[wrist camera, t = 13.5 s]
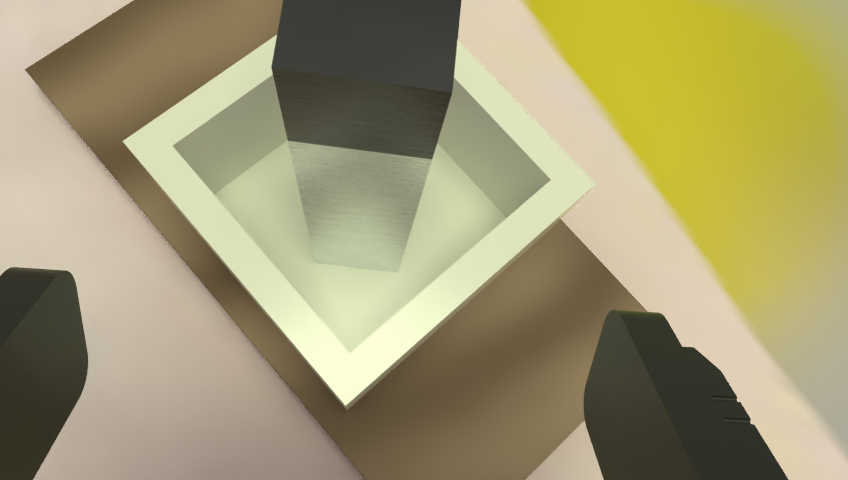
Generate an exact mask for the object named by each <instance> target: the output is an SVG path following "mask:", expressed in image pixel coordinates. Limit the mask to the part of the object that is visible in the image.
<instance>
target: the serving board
mask: <svg viewBox="0 0 848 480" xmlns="http://www.w3.org/2000/svg"><path fill="white" fill-rule="evenodd" d="M282 4H283V0H134V1H132V2H131V3H129V4H127V5H126V6H124V7H123V8H121V9H119V10H118V11H116V12H115V13H113V14H112V15H110V16H108V17H107V18H105V19H104V20H102V21H101V22H99V23H97V24H96V25H94V26H93V27H91V28H90V29H88V30H86V31H85V32H83V33H82V34H80V35H79V36H77V37H75V38H74V39H72V40H71V41H69V42H67V43H66V44H64V45H63V46H61V47H60V48H58V49H56V50H55V51H53V52H52V53H50V54H49V55H47V56H45V57H44V58H42V59H41V60H39V61H38V62H36V63H34V64H33V65H31V66H30V67H28V68H27V69H25V70H26V72H27V73H28V74H29V75H30V76H31V78H32V79H33V80H34V81H35V82H36V84H37V85H38V86H39V87H40V88H41V90H42V91H43V92H44V93H45V94H46V96H47V97H48V98H49V99H50V100H51V102H52V103H53V104H54V105H55V106H56V108H57V109H58V110H59V111H60V112H61V114H62V115H63V116H64V117H65V118H66V120H67V121H68V122H69V123H70V124H71V126H72V127H73V128H74V129H75V130H76V132H77V133H78V134H79V135H80V136H81V138H82V139H83V140H84V141H85V142H86V144H87V145H88V146H89V147H90V148H91V150H92V151H93V152H94V153H95V154H96V156H97V157H98V158H99V159H100V160H101V162H102V163H103V164H104V165H105V166H106V168H107V169H108V170H109V171H110V172H111V174H112V175H113V176H114V177H115V178H116V180H117V181H118V182H119V183H120V184H121V186H122V187H123V188H124V189H125V190H126V192H127V193H128V194H129V195H130V196H131V198H132V199H133V200H134V201H135V202H136V204H137V205H138V206H139V207H140V208H141V210H142V211H143V212H144V213H145V214H146V216H147V217H148V218H149V219H150V220H151V222H152V223H153V224H154V225H155V226H156V228H157V229H158V230H159V231H160V232H161V234H162V235H163V236H164V237H165V238H166V240H167V241H168V242H169V243H170V244H171V246H172V247H173V248H174V249H175V250H176V252H177V253H178V254H179V255H180V256H181V258H182V259H183V260H184V261H185V262H186V264H187V265H188V266H189V267H190V268H191V270H192V271H193V272H194V273H195V274H196V276H197V277H198V278H199V279H200V280H201V282H202V283H203V284H204V285H205V286H206V288H207V289H208V290H209V291H210V292H211V294H212V295H213V296H214V297H215V298H216V300H217V301H218V302H219V303H220V304H221V306H222V307H223V308H224V309H225V310H226V312H227V313H228V314H229V315H230V316H231V318H232V319H233V320H234V321H235V322H236V324H237V325H238V326H239V327H240V329H241V330H242V331H243V332H244V333H245V335H246V336H247V337H248V338H249V339H250V341H251V342H252V343H253V344H254V345H255V347H256V348H257V349H258V350H259V351H260V353H261V354H262V355H263V356H264V357H265V359H266V360H267V361H268V362H269V363H270V365H271V366H272V367H273V368H274V369H275V371H276V372H277V373H278V374H279V375H280V377H281V378H282V379H283V380H284V381H285V383H286V384H287V385H288V386H289V387H290V389H291V390H292V391H293V392H294V393H295V395H296V396H297V397H298V398H299V399H300V401H301V402H302V403H303V404H304V405H305V407H306V408H307V409H308V410H309V411H310V413H311V414H312V415H313V416H314V417H315V419H316V420H317V421H318V422H319V423H320V425H321V426H322V427H323V428H324V429H325V431H326V432H327V433H328V434H329V435H330V437H331V438H332V439H333V440H334V441H335V443H336V444H337V445H338V446H339V447H340V449H341V450H342V451H343V452H344V453H345V455H346V456H347V457H348V458H349V459H350V461H351V462H352V463H353V464H354V465H355V467H356V468H357V469H358V470H359V471H360V473H361V474H362V475H363V476H364V477H365V479H366V480H525V479H526V478H527V477H528V476H529V475H530V474H531V473H532V472H533V471H534V470H535V469H536V468H537V467H538V466H539V465H540V464H541V463H542V462H543V461H544V460H545V459H546V458H547V457H548V456H549V455H550V454H551V453H552V452H553V451H554V450H555V449H556V448H557V447H558V446H559V445H560V444H561V443H562V442H563V441H564V440H565V439H566V438H567V437H568V436H569V435H570V434H571V433H572V432H573V431H574V430H575V429H576V428H577V427H578V426H579V425H580V424H581V423H582V422H583V421H584V420H585V418H584V403H583V402H584V390H585V385H586V382H587V378H588V375H589V371H590V368H591V365H592V361H593V358H594V354H595V351H596V347H597V344H598V341H599V337H600V334H601V330H602V327H603V324H604V321H605V318H606V316H607V314H608V313H609V312H610V311H611V310H623V311H638V312H647V311H646V310H645V309H644V307H643V306H642V305H641V304H640V303H639V302H638V301H637V300H636V299H635V298H634V297H633V296H632V295H631V294H630V293H629V292H628V290H627V289H626V288H625V287H624V286H623V285H622V284H621V283H620V282H619V281H618V280H617V279H616V278H615V277H614V276H613V274H612V273H611V272H610V271H609V270H608V269H607V268H606V267H605V266H604V265H603V264H602V263H601V262H600V261H599V260H598V259H597V257H596V256H595V255H594V254H593V253H592V252H591V251H590V250H589V249H588V248H587V247H586V246H585V245H584V244H583V243H582V241H581V240H580V239H579V238H578V237H577V236H576V235H575V234H574V233H573V232H572V231H571V230H570V229H569V228H568V227H567V225H566V224H565V223H564V222H563V221H562V220H561V219H560V220H559V221H558V222H557V223H556V224H555V225H554V226H553V227H552V228H551V229H550V230H549V231H548V232H547V233H546V234H545V235H544V236H543V237H542V238H541V239H540V240H538V241H537V242H536V243H535V244H534V245H533V246H532V247H531V248H529V249H528V250H527V251H526V252H525V253H524V254H523V255H522V256H520V257H519V258H518V259H517V260H516V261H515V262H514V263H513V264H511V265H510V266H509V267H508V268H507V269H506V270H505V271H504V272H502V273H501V274H500V275H499V276H498V277H497V278H496V279H495V280H493V281H492V282H491V283H490V284H489V285H488V286H487V287H486V288H484V289H483V290H482V291H481V292H480V293H479V294H478V295H477V296H475V297H474V298H473V299H472V300H471V301H470V302H469V303H468V304H466V305H465V306H464V307H463V308H462V309H461V310H460V311H459V312H457V313H456V314H455V315H454V316H453V317H452V318H451V319H450V320H448V321H447V322H446V323H445V324H444V325H443V326H442V327H441V328H439V329H438V330H437V331H436V332H435V333H434V334H433V335H432V336H430V337H429V338H428V339H427V340H426V341H425V342H424V343H423V344H421V345H420V346H419V347H418V348H417V349H416V350H415V351H414V352H412V353H411V354H410V355H409V356H408V357H407V358H406V359H405V360H404V361H402V362H401V363H400V364H399V365H398V366H397V367H396V368H395V369H393V370H392V371H391V372H390V373H389V374H388V375H387V376H386V377H384V378H383V379H382V380H381V381H380V382H379V383H378V384H377V385H375V386H374V387H373V388H372V389H371V390H370V391H369V392H368V393H366V394H365V395H364V396H363V397H362V398H361V399H360V400H359V401H357V402H356V403H355V404H354V405H353V406H352V407H351V408H350V409H348V410H346V409H345V408H344V407H343V405H342V404H341V403H340V402H339V401H338V399H337V398H336V397H335V396H334V395H333V393H332V392H331V391H330V390H329V389H328V388H327V386H326V385H325V384H324V383H323V382H322V380H321V379H320V378H319V377H318V376H317V374H316V373H315V372H314V371H313V370H312V369H311V367H310V366H309V365H308V364H307V363H306V361H305V360H304V359H303V358H302V357H301V355H300V354H299V353H298V352H297V351H296V350H295V348H294V347H293V346H292V345H291V344H290V342H289V341H288V340H287V339H286V338H285V336H284V335H283V334H282V333H281V332H280V331H279V329H278V328H277V327H276V326H275V325H274V323H273V322H272V321H271V320H270V319H269V317H268V316H267V315H266V314H265V313H264V312H263V310H262V309H261V308H260V307H259V306H258V304H257V303H256V302H255V301H254V300H253V298H252V297H251V296H250V295H249V294H248V293H247V291H246V290H245V289H244V288H243V287H242V285H241V284H240V283H239V282H238V281H237V279H236V278H235V277H234V276H233V275H232V274H231V272H230V271H229V270H228V269H227V268H226V266H225V265H224V264H223V263H222V262H221V260H220V259H219V258H218V257H217V256H216V255H215V253H214V252H213V251H212V250H211V249H210V247H209V246H208V245H207V244H206V243H205V241H204V240H203V239H202V238H201V237H200V236H199V234H198V233H197V232H196V231H195V230H194V228H193V227H192V226H191V225H190V224H189V222H188V221H187V220H186V219H185V218H184V217H183V215H182V214H181V213H180V212H179V211H178V209H177V208H176V207H175V206H174V205H173V203H172V202H171V201H170V200H169V198H168V197H167V196H166V195H165V193H164V192H163V191H162V190H161V188H160V187H159V186H158V185H157V183H156V182H155V181H154V180H153V179H152V177H151V176H150V175H149V174H148V172H147V171H146V170H145V169H144V167H143V166H142V165H141V164H140V162H139V161H138V160H137V159H136V157H135V156H134V155H133V154H132V152H131V151H130V150H129V149H128V147H127V146H126V145H125V144H124V142H123V141H124V140H125V139H127V138H128V137H129V136H131V135H132V134H134V133H135V132H137V131H138V130H140V129H141V128H142V127H144V126H145V125H147V124H148V123H150V122H151V121H153V120H154V119H156V118H157V117H158V116H160V115H161V114H163V113H164V112H166V111H167V110H169V109H170V108H171V107H173V106H174V105H176V104H177V103H179V102H180V101H182V100H183V99H184V98H186V97H187V96H189V95H190V94H192V93H193V92H195V91H196V90H197V89H199V88H200V87H202V86H203V85H205V84H206V83H208V82H209V81H210V80H212V79H213V78H215V77H216V76H218V75H219V74H221V73H222V72H224V71H225V70H226V69H228V68H229V67H231V66H232V65H234V64H235V63H237V62H238V61H239V60H241V59H242V58H244V57H245V56H247V55H248V54H250V53H251V52H252V51H254V50H255V49H257V48H258V47H260V46H261V45H263V44H264V43H265V42H267V41H268V40H270V39H271V38H273V37H274V36H276V35H277V32H278V27H279V21H280V15H281V10H282Z"/></svg>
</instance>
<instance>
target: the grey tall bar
mask: <svg viewBox="0 0 848 480" xmlns="http://www.w3.org/2000/svg"><path fill="white" fill-rule="evenodd" d="M460 8H461V0H283V4H282V10H281V15H280V21H279V27H278V32H277V38H276V44H275V49H274V55H273V61H272V66H271V68H272V73H273V77H274V82H275V86H276V91H277V95H278V100H279V104H280V108H281V113H282V117H283V122H284V126H285V131H286V135H287V140H288V144H289V149H290V153H291V157H292V162H293V166H294V171H295V175H296V180H297V184H298V189H299V193H300V197H301V202H302V206H303V211H304V215H305V220H306V224H307V229H308V233H309V238H310V242H311V246H312V251H313V255H314V260H315V263H319V264H328V265H336V266H345V267H353V268H362V269H370V270H379V271H387V272H396V273H398V272H399V268H400V265H401V262H402V258H403V255H404V252H405V248H406V245H407V242H408V238H409V235H410V232H411V228H412V225H413V222H414V218H415V215H416V212H417V208H418V205H419V202H420V199H421V195H422V192H423V189H424V185H425V182H426V179H427V175H428V172H429V169H430V165H431V162H432V159H433V155H434V152H435V149H436V145H437V142H438V139H439V135H440V132H441V129H442V125H443V122H444V119H445V115H446V112H447V109H448V105H449V102H450V99H451V95H452V92H453V81H454V71H455V60H456V50H457V39H458V29H459V18H460Z"/></svg>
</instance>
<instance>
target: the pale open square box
mask: <svg viewBox="0 0 848 480" xmlns="http://www.w3.org/2000/svg"><path fill="white" fill-rule="evenodd" d="M276 38H277V35H276V36H274V37H273V38H271V39H270V40H268V41H267V42H265V43H264V44H263V45H261V46H260V47H258V48H257V49H255V50H254V51H252V52H251V53H250V54H248V55H247V56H245V57H244V58H242V59H241V60H239V61H238V62H237V63H235V64H234V65H232V66H231V67H229V68H228V69H226V70H225V71H224V72H222V73H221V74H219V75H218V76H216V77H215V78H213V79H212V80H210V81H209V82H208V83H206V84H205V85H203V86H202V87H200V88H199V89H197V90H196V91H195V92H193V93H192V94H190V95H189V96H187V97H186V98H184V99H183V100H182V101H180V102H179V103H177V104H176V105H174V106H173V107H171V108H170V109H169V110H167V111H166V112H164V113H163V114H161V115H160V116H158V117H157V118H156V119H154V120H153V121H151V122H150V123H148V124H147V125H145V126H144V127H142V128H141V129H140V130H138V131H137V132H135V133H134V134H132V135H131V136H129V137H128V138H127V139H125V140H124V141H123V142H124V144H125V145H126V146H127V147H128V149H129V150H130V151H131V152H132V154H133V155H134V156H135V157H136V159H137V160H138V161H139V162H140V164H141V165H142V166H143V167H144V169H145V170H146V171H147V172H148V174H149V175H150V176H151V177H152V179H153V180H154V181H155V182H156V183H157V185H158V186H159V187H160V188H161V190H162V191H163V192H164V193H165V195H166V196H167V197H168V198H169V200H170V201H171V202H172V203H173V205H174V206H175V207H176V208H177V209H178V211H179V212H180V213H181V214H182V215H183V217H184V218H185V219H186V220H187V221H188V222H189V224H190V225H191V226H192V227H193V228H194V230H195V231H196V232H197V233H198V234H199V236H200V237H201V238H202V239H203V240H204V241H205V243H206V244H207V245H208V246H209V247H210V249H211V250H212V251H213V252H214V253H215V255H216V256H217V257H218V258H219V259H220V260H221V262H222V263H223V264H224V265H225V266H226V268H227V269H228V270H229V271H230V272H231V274H232V275H233V276H234V277H235V278H236V279H237V281H238V282H239V283H240V284H241V285H242V287H243V288H244V289H245V290H246V291H247V293H248V294H249V295H250V296H251V297H252V298H253V300H254V301H255V302H256V303H257V304H258V306H259V307H260V308H261V309H262V310H263V312H264V313H265V314H266V315H267V316H268V317H269V319H270V320H271V321H272V322H273V323H274V325H275V326H276V327H277V328H278V329H279V331H280V332H281V333H282V334H283V335H284V336H285V338H286V339H287V340H288V341H289V342H290V344H291V345H292V346H293V347H294V348H295V350H296V351H297V352H298V353H299V354H300V355H301V357H302V358H303V359H304V360H305V361H306V363H307V364H308V365H309V366H310V367H311V369H312V370H313V371H314V372H315V373H316V374H317V376H318V377H319V378H320V379H321V380H322V382H323V383H324V384H325V385H326V386H327V388H328V389H329V390H330V391H331V392H332V393H333V395H334V396H335V397H336V398H337V399H338V401H339V402H340V403H341V404H342V405H343V407H344V408H345V409H346V410H348V409H350V408H351V407H352V406H353V405H354V404H355V403H356V402H357V401H359V400H360V399H361V398H362V397H363V396H364V395H365V394H366V393H368V392H369V391H370V390H371V389H372V388H373V387H374V386H375V385H377V384H378V383H379V382H380V381H381V380H382V379H383V378H384V377H386V376H387V375H388V374H389V373H390V372H391V371H392V370H393V369H395V368H396V367H397V366H398V365H399V364H400V363H401V362H402V361H404V360H405V359H406V358H407V357H408V356H409V355H410V354H411V353H412V352H414V351H415V350H416V349H417V348H418V347H419V346H420V345H421V344H423V343H424V342H425V341H426V340H427V339H428V338H429V337H430V336H432V335H433V334H434V333H435V332H436V331H437V330H438V329H439V328H441V327H442V326H443V325H444V324H445V323H446V322H447V321H448V320H450V319H451V318H452V317H453V316H454V315H455V314H456V313H457V312H459V311H460V310H461V309H462V308H463V307H464V306H465V305H466V304H468V303H469V302H470V301H471V300H472V299H473V298H474V297H475V296H477V295H478V294H479V293H480V292H481V291H482V290H483V289H484V288H486V287H487V286H488V285H489V284H490V283H491V282H492V281H493V280H495V279H496V278H497V277H498V276H499V275H500V274H501V273H502V272H504V271H505V270H506V269H507V268H508V267H509V266H510V265H511V264H513V263H514V262H515V261H516V260H517V259H518V258H519V257H520V256H522V255H523V254H524V253H525V252H526V251H527V250H528V249H529V248H531V247H532V246H533V245H534V244H535V243H536V242H537V241H538V240H540V239H541V238H542V237H543V236H544V235H545V234H546V233H547V232H548V231H549V230H550V229H551V228H552V227H553V226H554V225H555V224H556V223H557V222H558V221H559V220H560V219H561V218H562V217H563V216H564V215H565V214H566V213H567V212H568V211H569V210H570V209H571V208H572V207H573V206H574V205H575V204H576V203H577V202H578V201H579V200H580V199H581V198H582V197H583V196H584V195H585V194H586V193H587V192H588V191H589V190H590V189H591V188H592V187H593V186H594V185H595V184H596V183H595V182H594V181H593V180H592V179H591V178H590V177H589V176H588V175H587V174H586V173H585V172H584V171H583V170H582V169H581V168H580V167H579V166H578V164H577V163H576V162H575V161H574V160H573V159H572V158H571V157H570V156H569V155H568V154H567V153H566V152H565V151H564V150H563V149H562V148H561V147H560V146H559V145H558V144H557V143H556V142H555V140H554V139H553V138H552V137H551V136H550V135H549V134H548V133H547V132H546V131H545V130H544V129H543V128H542V127H541V126H540V125H539V124H538V123H537V122H536V121H535V120H534V119H533V117H532V116H531V115H530V114H529V113H528V112H527V111H526V110H525V109H524V108H523V107H522V106H521V105H520V104H519V103H518V102H517V101H516V100H515V99H514V98H513V97H512V96H511V94H510V93H509V92H508V91H507V90H506V89H505V88H504V87H503V86H502V85H501V84H500V83H499V82H498V81H497V80H496V79H495V78H494V77H493V76H492V75H491V74H490V73H489V72H488V70H487V69H486V68H485V67H484V66H483V65H482V64H481V63H480V62H479V61H478V60H477V59H476V58H475V57H474V56H473V55H472V54H471V53H470V52H469V51H468V50H467V49H466V47H465V46H464V45H463V44H462V43H461V42H460V41H459V40H458V39H457V50H456V60H455V71H454V81H453V92H452V95H451V99H450V102H449V105H448V109H447V112H446V115H445V119H444V122H443V125H442V129H441V132H440V135H439V139H438V142H437V145H436V149H435V152H434V155H433V159H432V162H431V165H430V169H429V172H428V175H427V179H426V182H425V185H424V189H423V192H422V195H421V199H420V202H419V205H418V208H417V212H416V215H415V218H414V222H413V225H412V228H411V232H410V235H409V238H408V242H407V245H406V248H405V252H404V255H403V258H402V262H401V265H400V268H399V272H398V273H396V272H387V271H379V270H370V269H362V268H353V267H345V266H336V265H328V264H319V263H315V260H314V255H313V251H312V246H311V242H310V238H309V233H308V229H307V224H306V220H305V215H304V211H303V206H302V202H301V197H300V193H299V189H298V184H297V180H296V175H295V171H294V166H293V162H292V157H291V153H290V149H289V144H288V140H287V135H286V131H285V126H284V122H283V117H282V113H281V108H280V104H279V100H278V95H277V91H276V86H275V82H274V77H273V73H272V68H271V66H272V61H273V55H274V49H275V44H276Z"/></svg>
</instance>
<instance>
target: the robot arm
mask: <svg viewBox="0 0 848 480" xmlns="http://www.w3.org/2000/svg"><path fill="white" fill-rule="evenodd" d="M87 369H88V354H87V347H86V341H85V335H84V330H83V324H82V318H81V312H80V306H79V300H78V294H77V288H76V283H75V280H74V278H73V276H72V274H71V273H70V272H68V271H62V270H47V269H33V268H18V267H12V268H9V269H7V270H6V271H5V272H4V273H3V274H2V275H1V276H0V480H33V478H34V477H35V475H36V473H37V471H38V470H39V468H40V466H41V464H42V463H43V461H44V459H45V457H46V456H47V454H48V452H49V450H50V449H51V447H52V445H53V443H54V442H55V440H56V438H57V436H58V435H59V433H60V431H61V429H62V428H63V426H64V424H65V422H66V421H67V419H68V417H69V415H70V414H71V412H72V410H73V408H74V407H75V405H76V403H77V401H78V399H79V398H80V396H81V393H82V391H83V388H84V385H85V381H86V376H87ZM583 403H584V418H585V423H586V427H587V430H588V433H589V436H590V439H591V442H592V445H593V448H594V451H595V454H596V457H597V460H598V463H599V466H600V469H601V472H602V475H603V478H604V480H788V478H787V477H786V475H785V473H784V472H783V470H782V469H781V467H780V465H779V464H778V462H777V461H776V459H775V457H774V456H773V454H772V452H771V451H770V449H769V448H768V446H767V444H766V443H765V441H764V440H763V438H762V436H761V435H760V433H759V432H758V430H757V428H756V427H755V425H753V424H751V423H750V417H749V415H748V414H747V412H746V411H745V409H744V407H743V406H742V404H741V403H740V402H737V396H736V395H735V393H734V391H733V390H732V388H731V387H730V385H729V383H728V382H727V380H726V379H725V377H724V375H723V374H722V372H721V371H720V370H719V369H718V368H717V367H716V366H715V365H713V364H712V363H711V362H710V361H709V360H708V359H706V358H705V357H704V356H703V355H702V354H701V353H699V352H698V351H697V350H696V349H695V348H693V347H682V346H681V344H680V342H679V340H678V339H677V337H676V335H675V333H674V332H673V330H672V328H671V327H670V325H669V323H668V321H667V320H666V318H665V317H664V316H663V315H662V314H661V313H653V312H638V311H623V310H611V311H610V312H609V313H608V314H607V316H606V318H605V321H604V324H603V327H602V330H601V334H600V337H599V341H598V344H597V347H596V351H595V354H594V358H593V361H592V365H591V368H590V371H589V375H588V378H587V382H586V385H585V390H584V402H583Z"/></svg>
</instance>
